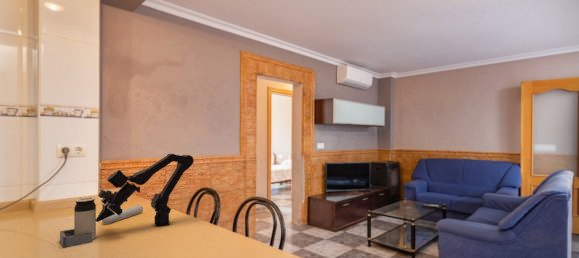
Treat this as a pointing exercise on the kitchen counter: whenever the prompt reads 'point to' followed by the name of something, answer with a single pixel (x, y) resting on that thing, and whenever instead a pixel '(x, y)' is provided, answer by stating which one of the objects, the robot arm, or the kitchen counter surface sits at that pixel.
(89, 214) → the travel mug
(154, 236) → the kitchen counter surface
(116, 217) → the tube
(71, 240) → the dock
